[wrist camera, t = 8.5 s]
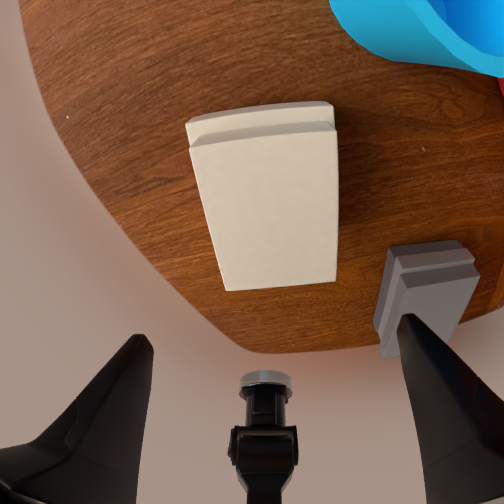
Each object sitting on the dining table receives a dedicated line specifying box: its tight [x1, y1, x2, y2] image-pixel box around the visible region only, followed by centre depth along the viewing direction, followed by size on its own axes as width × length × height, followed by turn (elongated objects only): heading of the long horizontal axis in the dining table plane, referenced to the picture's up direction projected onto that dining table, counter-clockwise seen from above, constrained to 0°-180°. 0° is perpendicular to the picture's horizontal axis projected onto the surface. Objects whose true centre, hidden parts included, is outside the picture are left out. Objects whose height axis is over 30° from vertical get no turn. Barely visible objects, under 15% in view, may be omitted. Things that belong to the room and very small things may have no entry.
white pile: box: [185, 101, 335, 147], centre depth 16 cm, size 9×7×4 cm
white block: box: [189, 121, 339, 291], centre depth 14 cm, size 8×6×2 cm
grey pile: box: [373, 239, 480, 359], centre depth 21 cm, size 9×7×4 cm
